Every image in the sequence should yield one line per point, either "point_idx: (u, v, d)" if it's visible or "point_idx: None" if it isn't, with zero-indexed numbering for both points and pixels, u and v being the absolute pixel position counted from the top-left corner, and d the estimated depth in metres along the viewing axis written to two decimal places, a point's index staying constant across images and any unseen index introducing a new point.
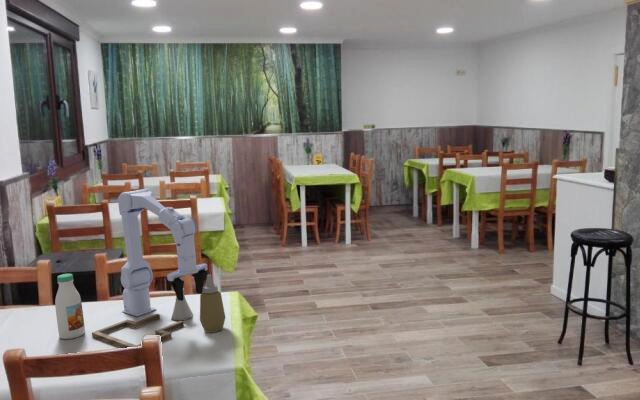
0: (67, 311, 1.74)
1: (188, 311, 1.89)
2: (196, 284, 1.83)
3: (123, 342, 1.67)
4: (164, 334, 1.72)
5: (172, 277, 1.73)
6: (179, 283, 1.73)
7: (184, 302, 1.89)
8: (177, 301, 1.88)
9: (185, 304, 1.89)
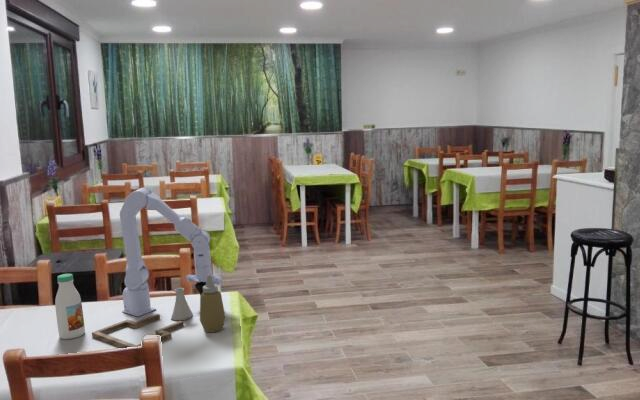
0: (67, 311, 1.74)
1: (188, 311, 1.89)
2: None
3: (123, 342, 1.67)
4: (164, 334, 1.72)
5: (187, 278, 2.00)
6: (195, 286, 1.96)
7: (184, 302, 1.89)
8: (177, 301, 1.88)
9: (185, 304, 1.89)
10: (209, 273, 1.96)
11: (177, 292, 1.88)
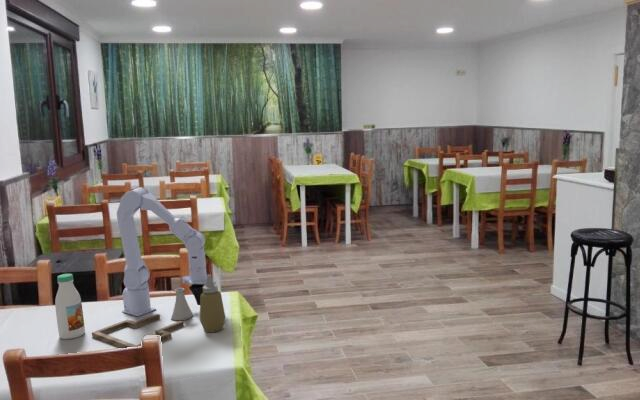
0: (67, 311, 1.74)
1: (188, 311, 1.89)
2: None
3: (123, 342, 1.67)
4: (164, 334, 1.72)
5: (183, 279, 1.98)
6: (190, 288, 1.95)
7: (184, 302, 1.89)
8: (177, 301, 1.88)
9: (185, 304, 1.89)
10: (203, 275, 1.93)
11: (177, 292, 1.88)
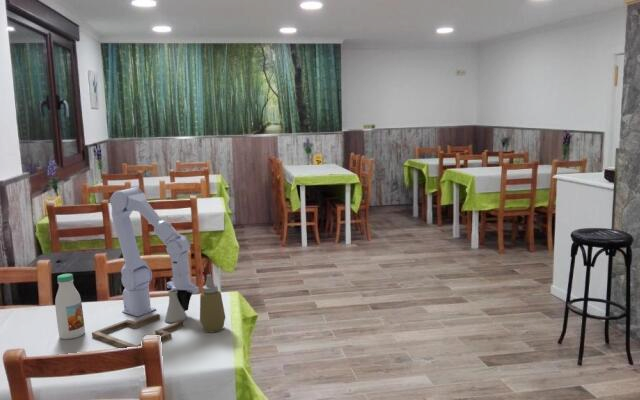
0: (67, 311, 1.74)
1: (182, 313, 1.87)
2: None
3: (123, 342, 1.67)
4: (164, 334, 1.72)
5: (167, 285, 1.93)
6: None
7: (177, 304, 1.87)
8: (170, 303, 1.86)
9: (178, 306, 1.87)
10: (186, 281, 1.88)
11: (170, 294, 1.86)
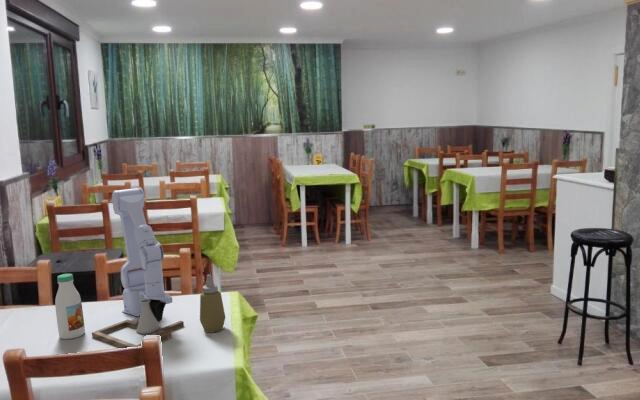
0: (67, 311, 1.74)
1: (154, 324, 1.78)
2: None
3: (123, 342, 1.67)
4: (164, 334, 1.72)
5: (140, 294, 1.84)
6: None
7: (150, 314, 1.78)
8: (142, 313, 1.78)
9: (151, 316, 1.78)
10: (159, 290, 1.79)
11: (142, 304, 1.77)
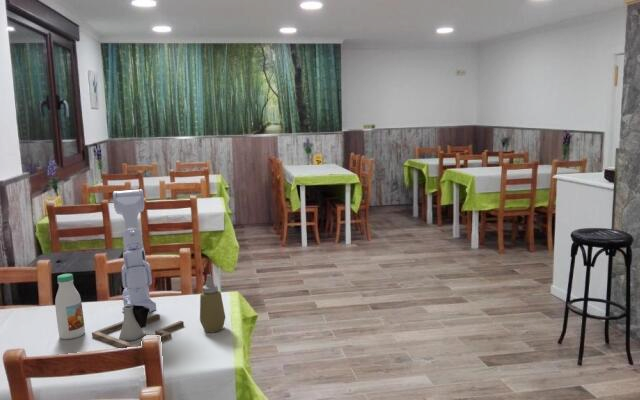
0: (67, 311, 1.74)
1: (137, 330, 1.74)
2: None
3: (123, 342, 1.67)
4: (164, 334, 1.72)
5: (124, 299, 1.80)
6: None
7: (133, 321, 1.73)
8: (125, 320, 1.73)
9: (134, 323, 1.73)
10: (143, 296, 1.74)
11: (125, 310, 1.72)
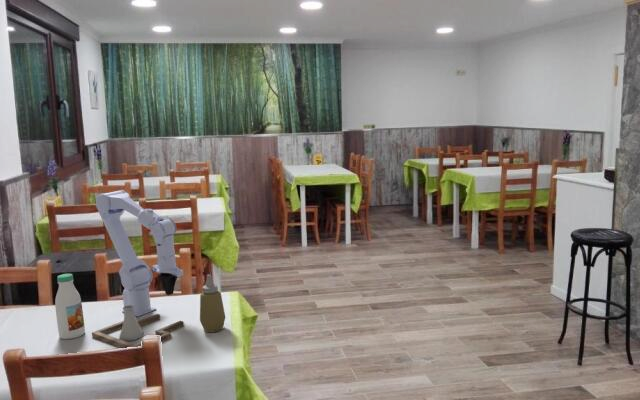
0: (67, 311, 1.74)
1: (137, 331, 1.74)
2: None
3: (123, 342, 1.67)
4: (164, 334, 1.72)
5: (153, 268, 1.91)
6: (158, 277, 1.88)
7: (133, 321, 1.73)
8: (125, 320, 1.73)
9: (134, 323, 1.74)
10: (171, 264, 1.86)
11: (125, 310, 1.72)
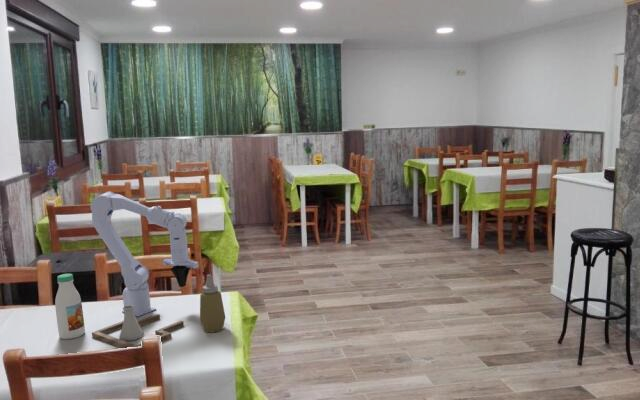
0: (67, 311, 1.74)
1: (137, 331, 1.74)
2: None
3: (123, 342, 1.67)
4: (164, 334, 1.72)
5: (164, 262, 1.98)
6: (171, 270, 1.95)
7: (133, 321, 1.73)
8: (125, 320, 1.73)
9: (134, 323, 1.74)
10: (185, 257, 1.94)
11: (125, 310, 1.72)
